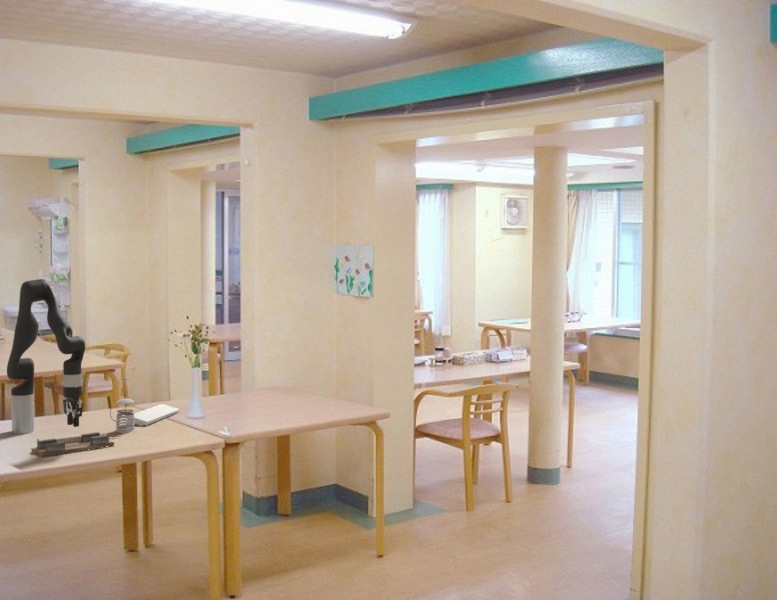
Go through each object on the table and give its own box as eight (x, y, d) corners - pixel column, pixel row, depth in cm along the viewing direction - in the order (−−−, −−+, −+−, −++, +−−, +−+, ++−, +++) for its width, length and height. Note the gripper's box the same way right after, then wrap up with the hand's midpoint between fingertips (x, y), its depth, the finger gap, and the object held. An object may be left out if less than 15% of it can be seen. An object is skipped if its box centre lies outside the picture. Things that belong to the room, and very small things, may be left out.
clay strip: (41, 450, 368) (37, 448, 373) (84, 444, 379) (79, 442, 384) (41, 441, 368) (36, 438, 372) (84, 435, 379) (79, 433, 384)
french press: (136, 433, 401) (136, 378, 400) (109, 434, 398) (109, 379, 397) (136, 429, 411) (136, 375, 409) (110, 430, 408) (109, 376, 406)
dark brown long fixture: (31, 452, 363) (31, 441, 363) (100, 441, 384) (100, 431, 384) (44, 457, 355) (44, 446, 354) (114, 445, 376) (114, 435, 375)
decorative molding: (177, 418, 448) (160, 412, 450) (179, 409, 448) (162, 403, 450) (145, 431, 415) (126, 425, 417) (147, 421, 414) (128, 415, 416)
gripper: (56, 383, 370) (56, 424, 371) (71, 387, 360) (72, 429, 361) (73, 382, 375) (74, 422, 376) (89, 385, 365) (89, 426, 366)
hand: (73, 425), depth 369 cm, fingers open, 5 cm apart
